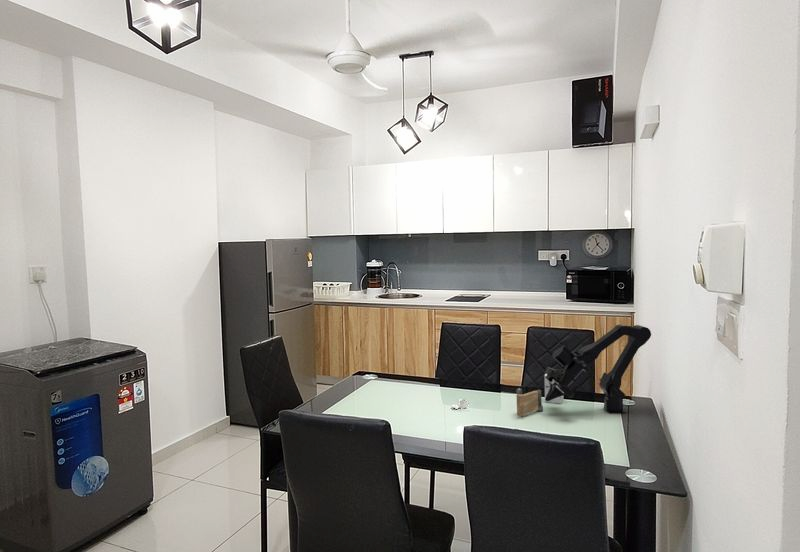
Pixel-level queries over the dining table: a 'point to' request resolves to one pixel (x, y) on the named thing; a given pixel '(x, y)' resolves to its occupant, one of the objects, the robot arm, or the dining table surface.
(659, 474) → the dining table surface
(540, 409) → the hinge base
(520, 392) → the post
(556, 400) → the supplement box
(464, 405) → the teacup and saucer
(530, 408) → the wooden plank panel
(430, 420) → the dining table surface
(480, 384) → the dining table surface
